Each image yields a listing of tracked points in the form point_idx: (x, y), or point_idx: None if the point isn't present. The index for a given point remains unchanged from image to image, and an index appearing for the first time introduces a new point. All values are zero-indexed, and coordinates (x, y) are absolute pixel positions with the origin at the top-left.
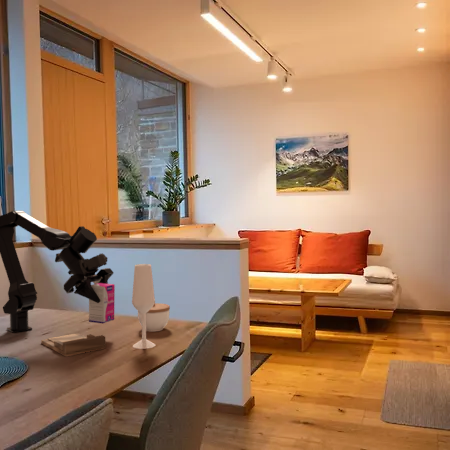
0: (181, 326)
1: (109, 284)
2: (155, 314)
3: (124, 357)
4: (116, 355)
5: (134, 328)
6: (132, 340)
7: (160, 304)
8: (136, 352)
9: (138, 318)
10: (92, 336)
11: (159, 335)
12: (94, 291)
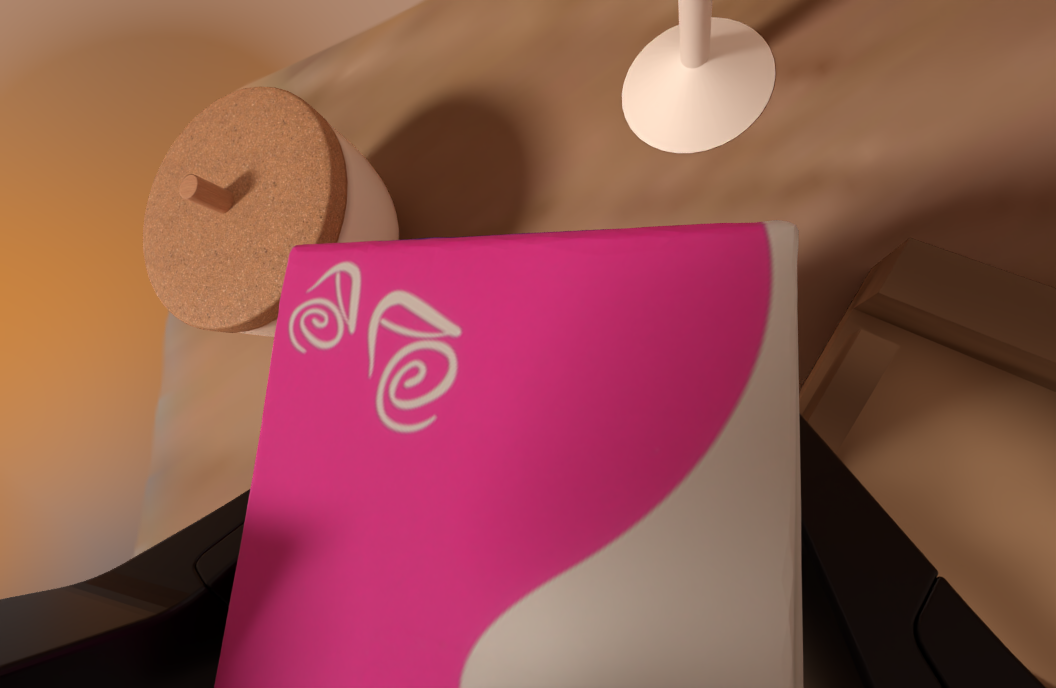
0: None
1: (347, 336)
2: (343, 141)
3: (1035, 2)
4: (1014, 83)
5: None
6: (607, 225)
7: (177, 188)
8: (869, 20)
9: None
10: (837, 420)
11: (459, 151)
12: (834, 566)
